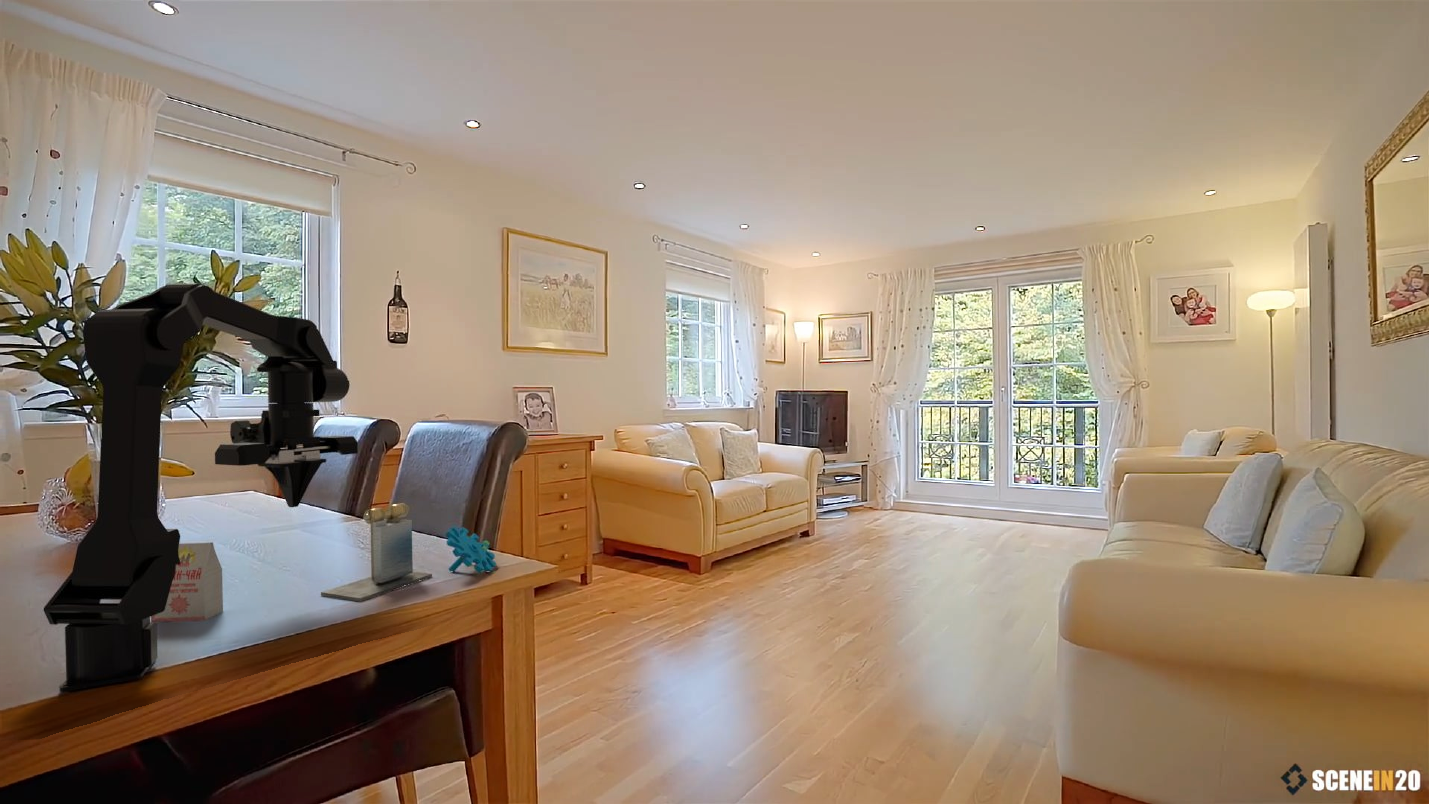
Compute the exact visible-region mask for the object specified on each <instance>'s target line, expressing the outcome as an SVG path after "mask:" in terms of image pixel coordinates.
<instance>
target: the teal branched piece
mask: <svg viewBox="0 0 1429 804" xmlns="http://www.w3.org/2000/svg"><path fill="white" fill-rule="evenodd" d="M468 534H469V530H468V529H467V528H466V527H464V526H462V527H461V528H459V527H458V526H456V525H453V526H452V527H451V528H450V529H449V530H448V531H447V532H446V533H445V534H444V535H445V537H446V538H448V539H447V540H446V545H447V546H449V547H452V548H454V549H453V550H452V552H451V553H452V554H453V556H455V557H456V558H457V559H456V560H455V561H454V562H453V563H452V564H451V565H450V566H449V567H448V570H449V571H450V572H451V571H454V572H455V571H456V570H457V569H458V568H459V567H460V566H461V565H462V564H464V565H465V566H466V567H467V568H468V567H470V566H471V565H472V564H473V563H474V564H475V566H474V570H475V571H476V572H477V573H480V574H481V573H482V572H485V571H491V572H492V571H494V568H493V567H496V566H497V562H496V561H495V560H494V559H495V558H496V556H495V554H494V553H493V552H491V551H488V549H489V548H490V547H489V545H490V542H489V541H488V540H484V541H483V542H479V541H478V540H479V539H480V536H478V535H477V534H476V533H474V532H473V533H472V535H471V536H469V535H468Z"/></svg>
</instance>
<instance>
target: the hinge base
mask: <svg viewBox="0 0 1429 804" xmlns="http://www.w3.org/2000/svg"><path fill="white" fill-rule="evenodd" d="M384 512H385V518H384V519H385V520H387V523H391V522H395V521H400V520H402V518H404V517H407V515H408V514H409V512H410V506H409V505H407V504H406V503H405V502H402V503H396V504H391V505H390V504H389V505H388V506H386V507H385V509H384ZM370 558H371V560H370V563H371V564H370V565H371V567H370V569H371V570H370V571H371V575H370V576H369V577H365V578H363V579H360V580H355V581H353V582H350V583H346V584H343V585H340V586H336V587H333V588H331V589H326V590H324V591H321V592H320V596H321V597H326V598H328V597H329V598H335V599H340V600H347V601H354V602H363V601H366V600H369V599H372V598H375V597H379V596H381V595H384V594H387V593H389V591H390V592H392V590H393V591H395V590H394V589H396V590H398V589H401V588H403V587H402V586H404V585H407V586H409V585H408V584H410V585H412V584H411V583H413V584H416V583H418V582H417V581H419V580H422V581H424V580H423V579H425V580H427V579H429V578H428V577H430V578H432V577H433V574H432V573H428V572H421V571H413V573H411V574H408V575H405V576H402V577H398V578H395V579H392V580H389V581H386V582H383V583H378V582H374V552H373V523H372V524H370ZM426 578H427V579H426ZM415 582H416V583H415ZM419 582H420V581H419ZM400 587H401V588H400ZM404 587H405V586H404ZM397 588H398V589H397Z"/></svg>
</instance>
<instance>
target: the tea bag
mask: <svg viewBox="0 0 1429 804" xmlns="http://www.w3.org/2000/svg"><path fill="white" fill-rule="evenodd" d="M178 553H179V559H180V562H181V564H180V565H176V570H175V576H174V579H173V581H172V585H171V588H170V592H169V596H168V600H167V603H166V607H165V610H164V611H163V612H161V613H158V614H156V615H153V616H151V617H150V623H152V622H155V623H156V622H157V623H158V622H159V623H160V622H181V621H183V622H184V621H186V622H187V621H206V620H208V619H210V618H212V617H213V616H216V615H218V614H219V613H221V612H224V596H223V590H224V589H223V566H222V565H221V562H220V560H219V558H218V555H217V553H216V550H215V546H214V542H213V541H211V542H210V541H207V542H179V548H178Z"/></svg>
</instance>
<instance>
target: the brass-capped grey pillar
mask: <svg viewBox="0 0 1429 804" xmlns="http://www.w3.org/2000/svg"><path fill="white" fill-rule="evenodd" d="M385 516H386V514H385V509H383V508H382V507H374V508H372V509H366V510H365V511H364V514H363V520H364V521H365V523H366V524H368V525H371V524H372V523H373V552H374V582H378V583H383V582H386V581H389V580H392V579H395V578H398V577H402V576H405V575H408V574H411V573H413V572H414V571H413V570H414V569H413V524H412V523H413V520H412V519H401V520H400V521H395V522H391V523H387V520H385Z"/></svg>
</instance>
